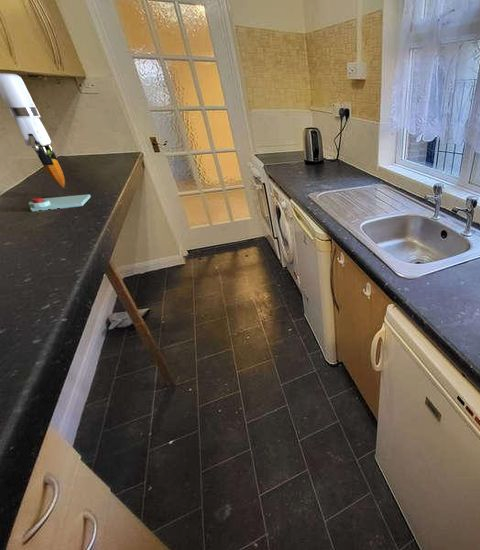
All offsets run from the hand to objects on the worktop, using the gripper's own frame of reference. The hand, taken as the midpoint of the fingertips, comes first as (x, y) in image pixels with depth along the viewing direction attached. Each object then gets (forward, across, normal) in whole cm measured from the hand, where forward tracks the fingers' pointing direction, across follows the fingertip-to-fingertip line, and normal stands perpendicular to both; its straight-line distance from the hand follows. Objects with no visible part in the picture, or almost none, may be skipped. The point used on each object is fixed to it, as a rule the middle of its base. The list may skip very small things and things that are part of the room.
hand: (50, 163), depth 120 cm
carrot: (+10, 0, 0) cm, 10 cm away
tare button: (+14, +6, -7) cm, 17 cm away
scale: (+16, +2, -2) cm, 16 cm away
